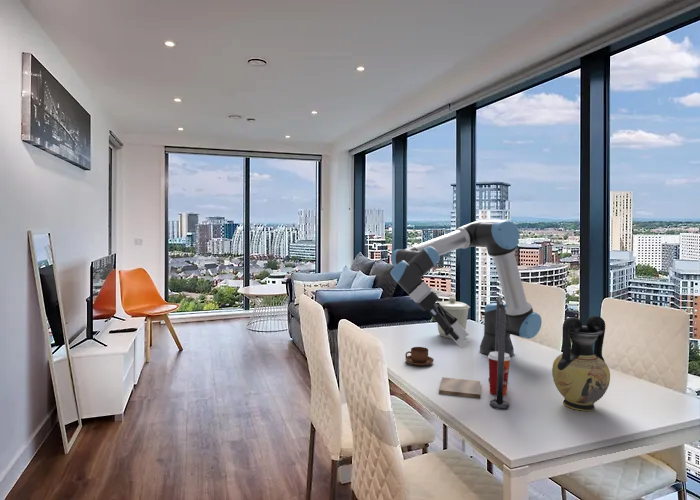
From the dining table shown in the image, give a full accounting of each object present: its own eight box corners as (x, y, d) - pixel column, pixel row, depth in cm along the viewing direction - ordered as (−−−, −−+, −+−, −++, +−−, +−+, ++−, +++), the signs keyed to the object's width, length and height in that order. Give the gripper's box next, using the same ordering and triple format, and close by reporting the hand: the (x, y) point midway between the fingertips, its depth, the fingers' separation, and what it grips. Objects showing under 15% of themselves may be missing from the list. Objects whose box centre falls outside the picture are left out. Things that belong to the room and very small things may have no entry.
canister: (432, 338, 235) (433, 298, 233) (436, 331, 252) (437, 293, 251) (468, 342, 229) (469, 300, 228) (469, 333, 247) (470, 295, 245)
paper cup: (511, 398, 155) (512, 357, 155) (487, 396, 157) (489, 356, 156) (507, 389, 163) (509, 351, 162) (485, 388, 165) (486, 350, 164)
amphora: (582, 420, 138) (586, 323, 136) (539, 400, 154) (542, 313, 152) (621, 411, 145) (625, 319, 143) (576, 393, 161) (579, 309, 159)
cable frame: (488, 378, 175) (491, 294, 173) (504, 379, 174) (507, 295, 172) (490, 408, 146) (493, 308, 145) (509, 410, 145) (513, 309, 143)
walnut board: (480, 384, 168) (480, 381, 168) (480, 398, 155) (480, 394, 155) (442, 380, 172) (442, 377, 172) (438, 393, 159) (438, 390, 159)
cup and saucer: (416, 369, 186) (416, 354, 185) (399, 361, 196) (400, 347, 196) (439, 365, 191) (439, 351, 191) (422, 357, 202) (422, 344, 201)
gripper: (421, 298, 178) (459, 339, 175) (411, 309, 155) (455, 357, 151) (435, 286, 177) (473, 327, 173) (428, 295, 153) (472, 343, 149)
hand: (465, 341), depth 162 cm, fingers open, 13 cm apart
